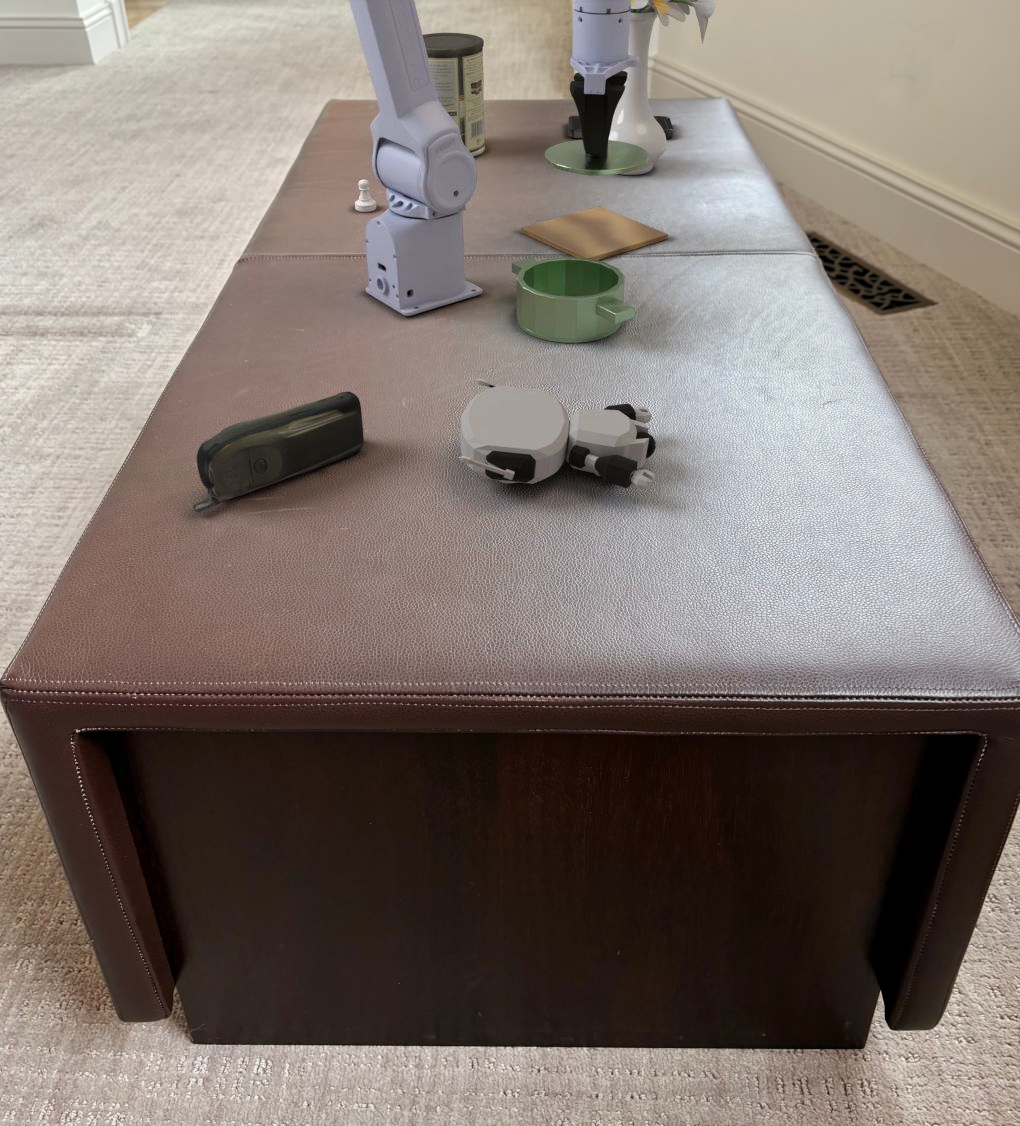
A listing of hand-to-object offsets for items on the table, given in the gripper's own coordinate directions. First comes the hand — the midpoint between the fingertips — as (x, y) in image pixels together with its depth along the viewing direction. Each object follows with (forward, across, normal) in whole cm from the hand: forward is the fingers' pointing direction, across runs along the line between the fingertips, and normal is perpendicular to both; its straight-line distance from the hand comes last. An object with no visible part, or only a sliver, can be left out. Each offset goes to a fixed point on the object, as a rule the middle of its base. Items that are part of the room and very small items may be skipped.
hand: (596, 149), depth 115 cm
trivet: (+10, +2, 0) cm, 11 cm away
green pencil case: (+10, -52, +20) cm, 57 cm away
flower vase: (+10, +28, -4) cm, 30 cm away
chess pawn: (+10, +8, +28) cm, 31 cm away
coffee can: (+10, +33, +23) cm, 42 cm away
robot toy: (+10, -48, -1) cm, 49 cm away
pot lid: (+1, 0, 0) cm, 1 cm away
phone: (+10, +45, -1) cm, 47 cm away
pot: (+10, -21, +1) cm, 23 cm away
